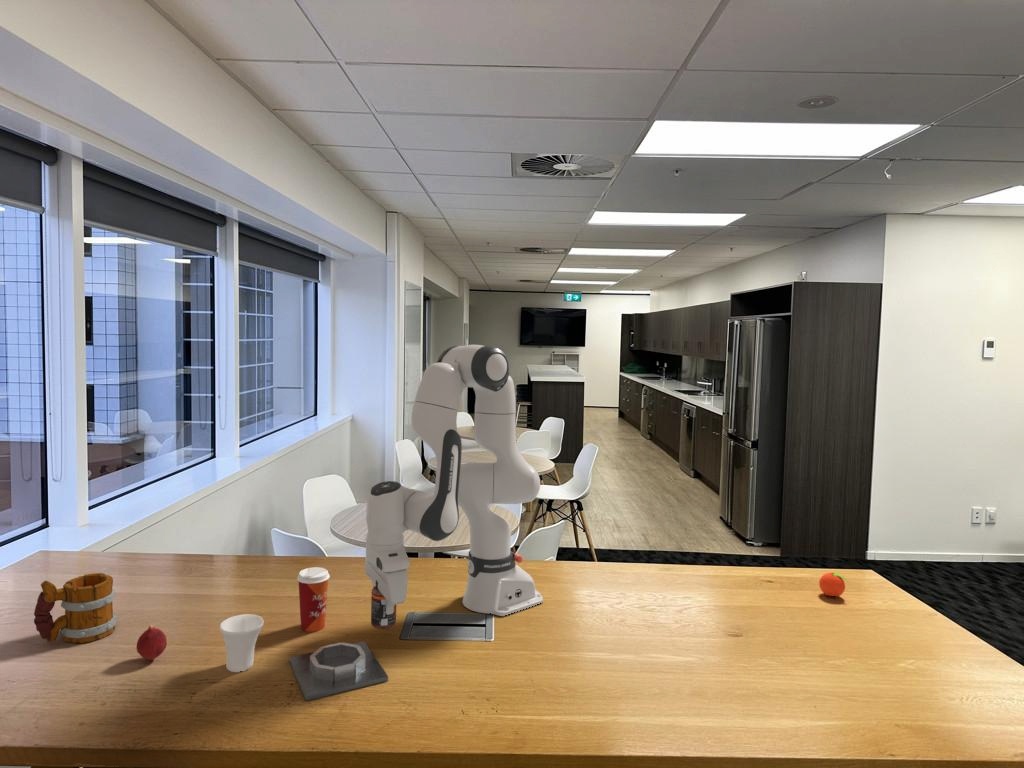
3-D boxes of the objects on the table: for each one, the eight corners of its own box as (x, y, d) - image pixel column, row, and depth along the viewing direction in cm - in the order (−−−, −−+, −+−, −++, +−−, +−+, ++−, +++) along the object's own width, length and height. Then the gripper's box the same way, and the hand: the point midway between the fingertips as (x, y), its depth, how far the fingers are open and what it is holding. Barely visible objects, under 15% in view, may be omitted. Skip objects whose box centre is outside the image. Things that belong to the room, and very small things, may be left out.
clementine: (849, 596, 194) (851, 573, 193) (847, 604, 188) (849, 580, 187) (819, 589, 198) (821, 566, 197) (816, 597, 192) (818, 573, 191)
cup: (221, 681, 136) (221, 635, 135) (218, 660, 144) (218, 616, 143) (266, 672, 140) (266, 627, 139) (261, 652, 148) (261, 609, 147)
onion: (173, 656, 145) (172, 621, 144) (151, 669, 139) (150, 633, 139) (153, 651, 147) (152, 617, 146) (130, 663, 141) (130, 628, 141)
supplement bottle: (390, 631, 153) (391, 585, 151) (366, 628, 154) (367, 582, 152) (399, 619, 158) (400, 575, 157) (376, 616, 160) (377, 572, 158)
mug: (124, 633, 154) (123, 572, 153) (40, 657, 142) (38, 591, 141) (110, 618, 162) (108, 559, 160) (29, 639, 150) (27, 576, 148)
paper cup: (319, 635, 157) (320, 579, 156) (290, 631, 158) (291, 576, 157) (334, 621, 164) (335, 568, 163) (306, 617, 166) (307, 564, 165)
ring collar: (364, 645, 153) (364, 631, 153) (388, 680, 138) (388, 665, 138) (289, 661, 145) (289, 646, 144) (306, 701, 130) (306, 684, 130)
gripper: (358, 538, 161) (358, 591, 163) (385, 568, 144) (384, 628, 145) (383, 534, 164) (382, 587, 166) (412, 564, 147) (411, 622, 148)
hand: (383, 606), depth 156 cm, fingers closed on supplement bottle, 6 cm apart
